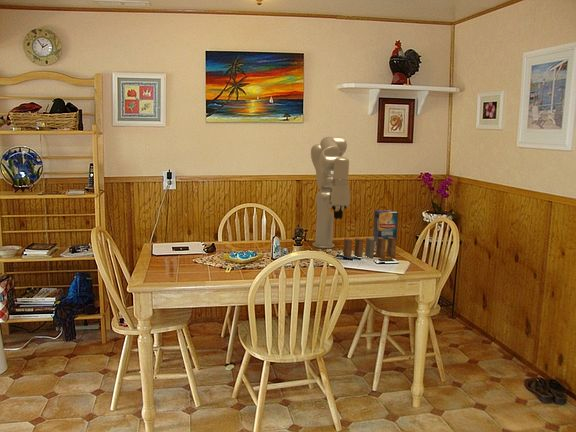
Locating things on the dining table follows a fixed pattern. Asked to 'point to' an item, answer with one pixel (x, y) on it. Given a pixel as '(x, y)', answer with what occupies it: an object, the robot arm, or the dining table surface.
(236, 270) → the dining table surface
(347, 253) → the domino
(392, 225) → the beverage box
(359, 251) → the domino
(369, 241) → the domino
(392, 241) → the domino
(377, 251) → the domino
